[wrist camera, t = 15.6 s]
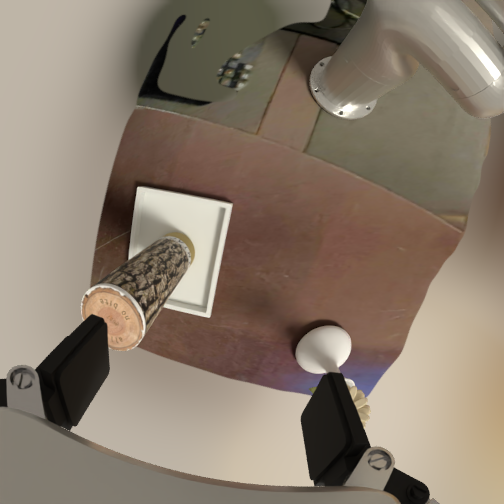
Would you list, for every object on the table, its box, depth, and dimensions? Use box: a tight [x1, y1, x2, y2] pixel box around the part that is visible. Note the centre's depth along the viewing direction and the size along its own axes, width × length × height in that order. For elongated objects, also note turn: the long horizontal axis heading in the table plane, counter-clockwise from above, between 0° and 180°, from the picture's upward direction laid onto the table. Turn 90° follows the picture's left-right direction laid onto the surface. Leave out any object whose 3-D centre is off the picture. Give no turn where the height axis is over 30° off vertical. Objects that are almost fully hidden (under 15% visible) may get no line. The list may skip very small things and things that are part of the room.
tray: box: [128, 186, 233, 318], centre depth 46 cm, size 20×16×2 cm
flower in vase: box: [296, 326, 371, 428], centre depth 40 cm, size 13×11×25 cm
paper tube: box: [81, 232, 195, 351], centre depth 34 cm, size 7×7×25 cm
